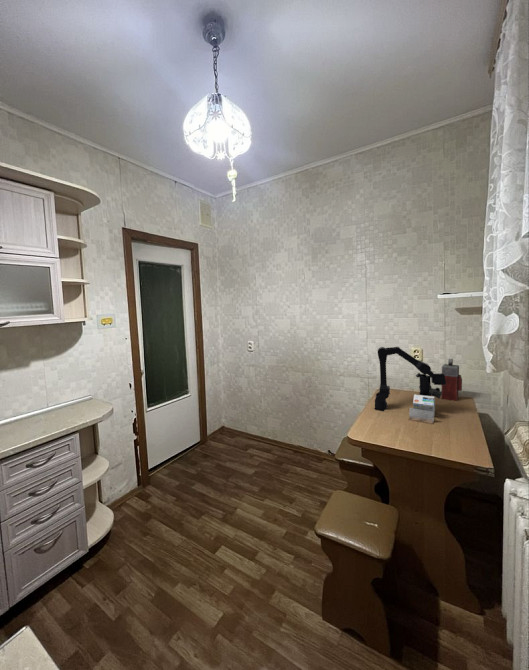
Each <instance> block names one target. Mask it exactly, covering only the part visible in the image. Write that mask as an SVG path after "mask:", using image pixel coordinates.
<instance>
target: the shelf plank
mask: <svg viewBox="0 0 529 670" xmlns="http://www.w3.org/2000/svg"><path fill="white" fill-rule="evenodd" d="M408 421H412V422H419V423H424V424H429V425H430V424H431V425H434V423H435V421H434V422H433V421H427V420H421V419H415V418H408Z"/></svg>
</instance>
